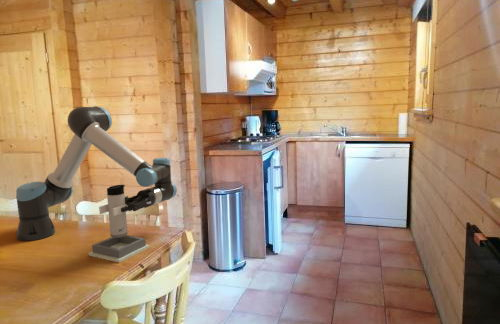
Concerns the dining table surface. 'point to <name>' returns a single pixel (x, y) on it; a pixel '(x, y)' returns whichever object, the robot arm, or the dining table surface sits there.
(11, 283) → the dining table surface
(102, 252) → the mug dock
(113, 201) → the travel mug
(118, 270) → the dining table surface
